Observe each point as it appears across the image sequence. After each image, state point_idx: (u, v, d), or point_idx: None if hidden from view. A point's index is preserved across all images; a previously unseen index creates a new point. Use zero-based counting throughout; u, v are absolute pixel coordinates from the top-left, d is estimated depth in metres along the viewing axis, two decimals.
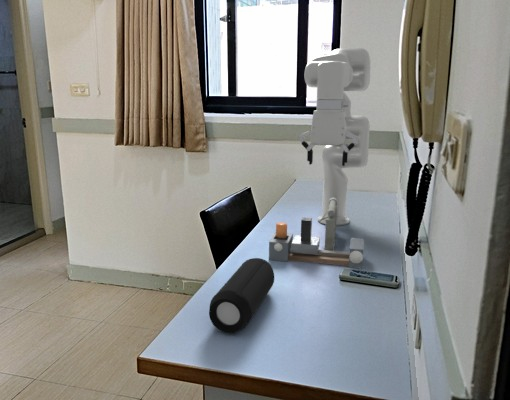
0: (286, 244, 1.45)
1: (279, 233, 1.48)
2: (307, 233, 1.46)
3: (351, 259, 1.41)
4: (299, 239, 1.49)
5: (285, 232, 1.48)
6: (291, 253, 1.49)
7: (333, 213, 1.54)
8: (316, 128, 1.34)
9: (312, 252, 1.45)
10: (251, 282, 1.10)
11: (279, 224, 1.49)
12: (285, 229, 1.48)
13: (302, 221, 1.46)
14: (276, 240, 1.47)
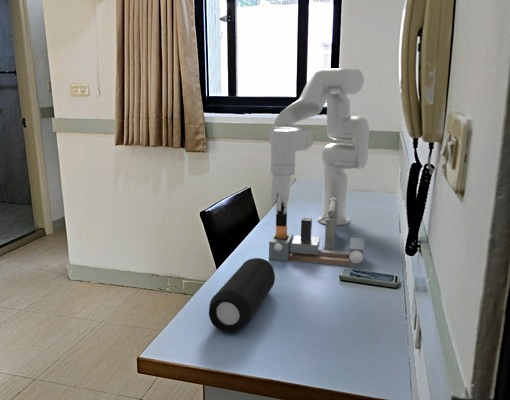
0: (286, 244, 1.45)
1: (279, 234, 1.48)
2: (307, 233, 1.46)
3: (351, 259, 1.41)
4: (299, 239, 1.49)
5: (285, 233, 1.49)
6: (291, 253, 1.49)
7: (333, 213, 1.54)
8: (287, 191, 1.42)
9: (312, 252, 1.45)
10: (251, 282, 1.10)
11: None
12: (285, 230, 1.48)
13: (302, 221, 1.46)
14: (276, 240, 1.47)
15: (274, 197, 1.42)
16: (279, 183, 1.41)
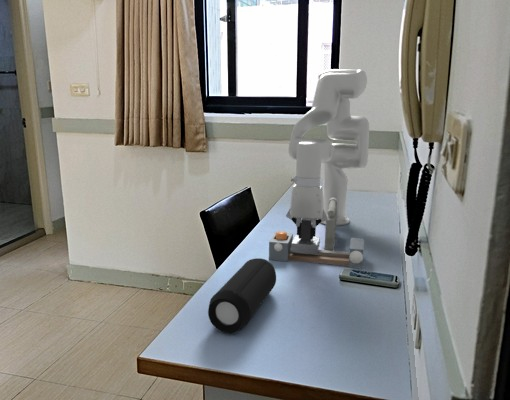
0: (286, 244, 1.45)
1: None
2: (307, 233, 1.46)
3: (351, 259, 1.41)
4: (299, 239, 1.49)
5: None
6: (291, 253, 1.49)
7: (333, 213, 1.54)
8: None
9: (312, 252, 1.45)
10: (251, 282, 1.10)
11: (279, 233, 1.49)
12: (285, 238, 1.49)
13: (302, 221, 1.46)
14: (276, 240, 1.47)
15: (322, 208, 1.43)
16: None
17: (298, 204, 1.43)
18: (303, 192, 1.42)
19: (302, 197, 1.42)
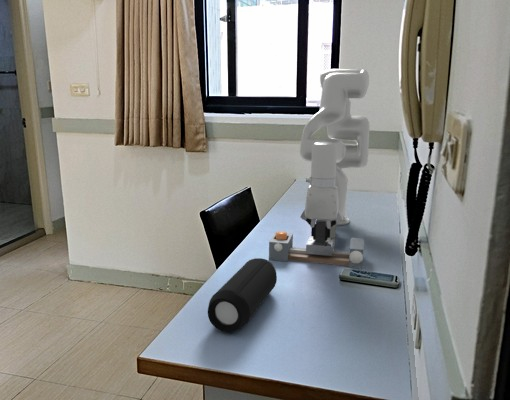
0: (286, 244, 1.45)
1: None
2: (322, 234, 1.45)
3: (351, 259, 1.41)
4: (313, 240, 1.48)
5: None
6: (291, 253, 1.49)
7: None
8: None
9: (327, 253, 1.44)
10: (251, 282, 1.09)
11: (279, 233, 1.49)
12: (285, 238, 1.49)
13: (317, 222, 1.45)
14: (276, 240, 1.47)
15: (337, 209, 1.42)
16: None
17: (313, 205, 1.42)
18: (318, 193, 1.41)
19: (317, 198, 1.41)
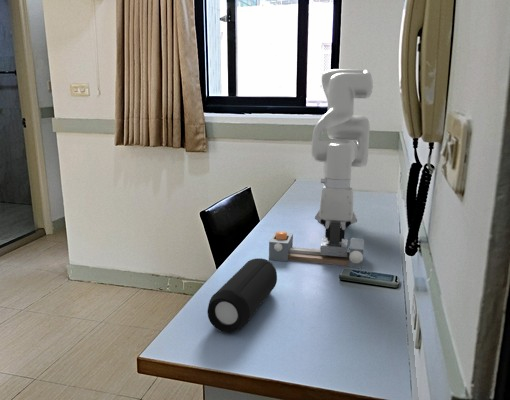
0: (286, 244, 1.45)
1: None
2: (336, 235, 1.44)
3: (351, 259, 1.41)
4: (328, 241, 1.47)
5: None
6: (291, 253, 1.49)
7: None
8: None
9: (342, 255, 1.43)
10: (251, 282, 1.09)
11: (279, 233, 1.49)
12: (285, 238, 1.49)
13: (331, 223, 1.44)
14: (276, 240, 1.47)
15: (352, 210, 1.41)
16: None
17: (328, 206, 1.41)
18: (333, 194, 1.40)
19: (332, 199, 1.40)
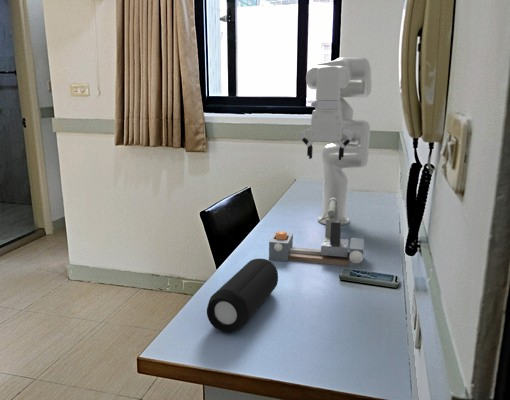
0: (286, 244, 1.45)
1: None
2: (337, 235, 1.44)
3: (351, 259, 1.41)
4: (328, 241, 1.47)
5: None
6: (291, 253, 1.49)
7: (333, 213, 1.54)
8: None
9: (342, 255, 1.43)
10: (251, 282, 1.09)
11: (279, 233, 1.49)
12: (285, 238, 1.49)
13: (332, 223, 1.44)
14: (276, 240, 1.47)
15: (341, 132, 1.48)
16: None
17: (318, 127, 1.48)
18: (323, 115, 1.47)
19: (322, 120, 1.47)
